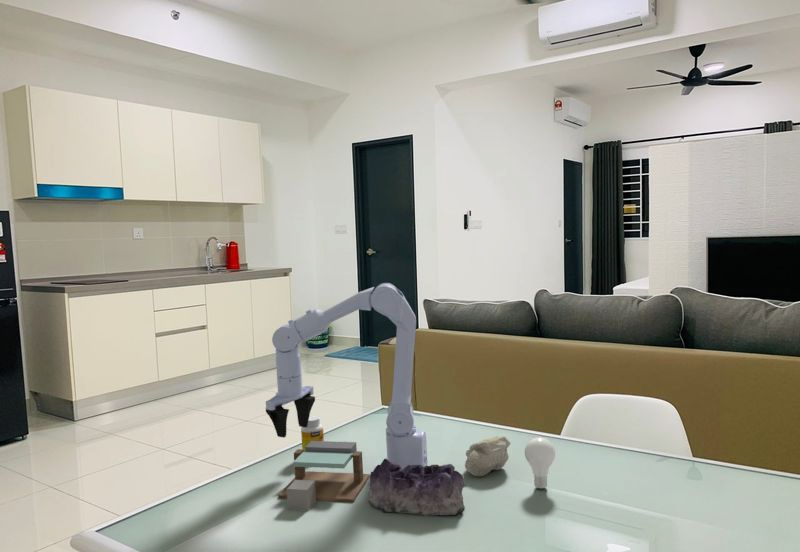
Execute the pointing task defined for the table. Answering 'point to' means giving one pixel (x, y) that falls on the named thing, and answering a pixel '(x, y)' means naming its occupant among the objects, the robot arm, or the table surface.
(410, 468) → the geode
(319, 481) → the frame
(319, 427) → the supplement bottle
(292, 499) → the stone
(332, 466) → the trapdoor
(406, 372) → the robot arm
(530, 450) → the lightbulb
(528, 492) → the table surface
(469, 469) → the fossil replica
